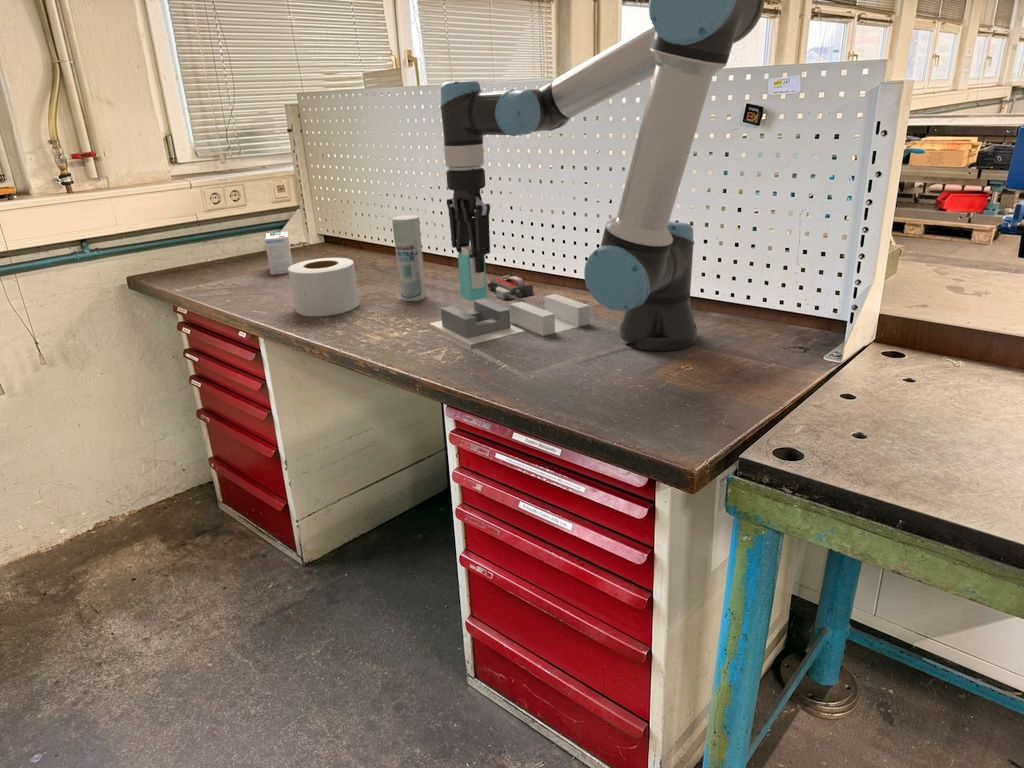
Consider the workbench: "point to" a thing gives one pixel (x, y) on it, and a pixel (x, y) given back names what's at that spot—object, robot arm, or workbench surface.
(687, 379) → the workbench surface
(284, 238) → the light bulb box
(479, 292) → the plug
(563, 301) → the offset white blocks
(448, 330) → the grey notched fixture
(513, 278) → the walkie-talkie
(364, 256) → the workbench surface
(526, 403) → the workbench surface
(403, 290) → the spray can
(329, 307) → the roll of tape
